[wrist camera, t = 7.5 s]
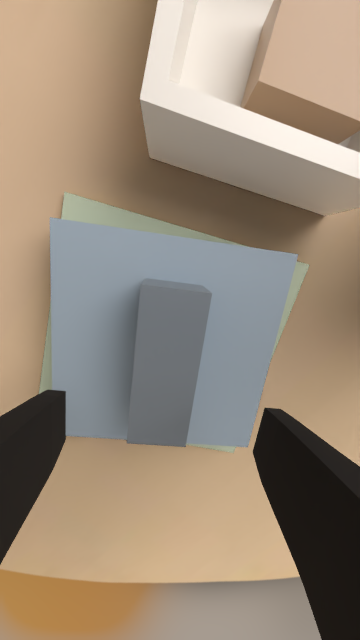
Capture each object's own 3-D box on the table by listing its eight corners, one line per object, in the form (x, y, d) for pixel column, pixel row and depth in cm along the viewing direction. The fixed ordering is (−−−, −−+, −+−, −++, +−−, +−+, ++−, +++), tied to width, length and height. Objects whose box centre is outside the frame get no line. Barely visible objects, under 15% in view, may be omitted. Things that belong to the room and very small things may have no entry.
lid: (278, 254, 14) (332, 254, 10) (237, 423, 17) (263, 484, 13) (68, 223, 13) (15, 206, 8) (67, 411, 16) (28, 473, 12)
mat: (305, 264, 15) (309, 264, 14) (232, 448, 19) (233, 452, 18) (67, 193, 13) (64, 191, 13) (38, 414, 17) (35, 418, 16)
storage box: (418, -17, 11) (602, -214, 7) (325, 215, 14) (407, 196, 9) (207, -124, 10) (245, -475, 5) (149, 157, 13) (139, 98, 8)
